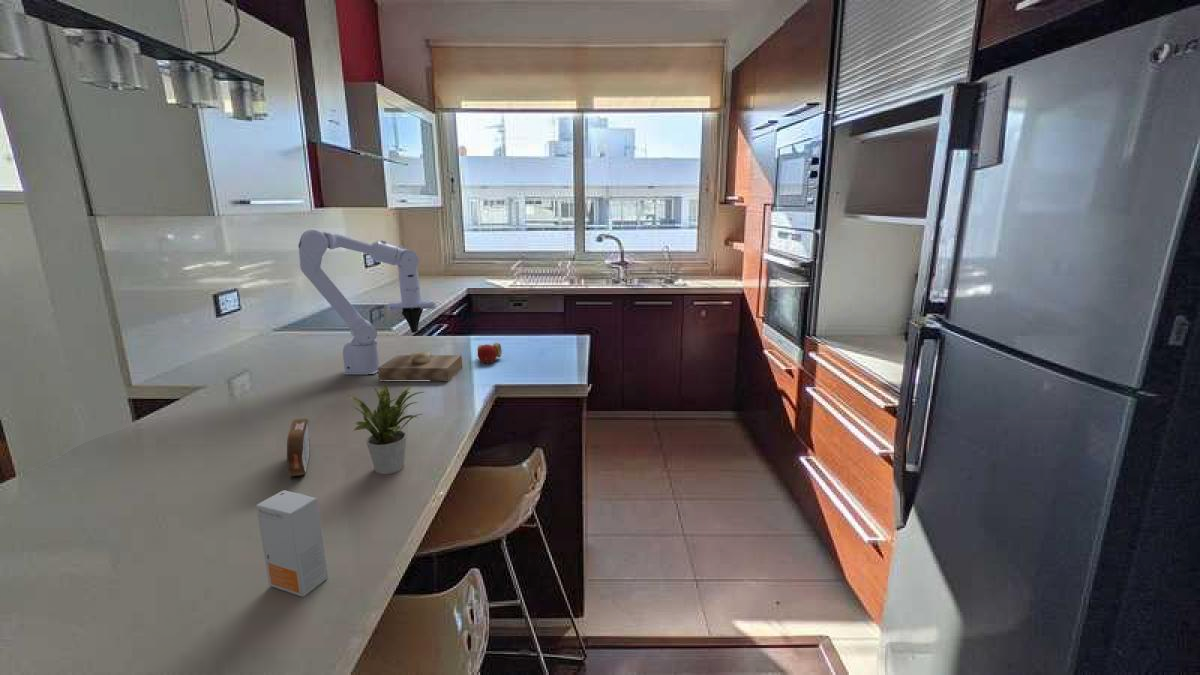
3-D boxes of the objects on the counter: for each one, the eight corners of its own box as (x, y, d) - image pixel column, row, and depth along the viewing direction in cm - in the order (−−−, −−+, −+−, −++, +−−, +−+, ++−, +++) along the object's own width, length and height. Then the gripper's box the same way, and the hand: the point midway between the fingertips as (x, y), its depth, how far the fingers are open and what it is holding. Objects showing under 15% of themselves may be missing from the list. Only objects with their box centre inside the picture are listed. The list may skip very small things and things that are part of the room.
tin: (297, 452, 111) (291, 413, 109) (314, 449, 112) (308, 410, 110) (288, 485, 97) (281, 441, 95) (308, 482, 98) (301, 438, 97)
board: (379, 381, 155) (377, 368, 155) (398, 367, 169) (397, 355, 168) (448, 381, 155) (447, 368, 154) (462, 367, 168) (461, 355, 167)
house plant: (447, 468, 103) (441, 386, 99) (375, 495, 93) (365, 405, 90) (412, 446, 113) (405, 370, 109) (343, 468, 103) (332, 386, 99)
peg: (410, 375, 159) (408, 355, 158) (417, 370, 164) (415, 351, 163) (427, 375, 159) (425, 355, 158) (434, 370, 164) (432, 351, 163)
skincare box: (268, 587, 71) (253, 504, 68) (296, 567, 75) (284, 488, 72) (302, 599, 69) (289, 513, 66) (330, 578, 73) (318, 496, 70)
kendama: (483, 354, 188) (471, 362, 170) (486, 337, 188) (474, 342, 170) (505, 358, 188) (495, 366, 170) (508, 340, 188) (498, 346, 170)
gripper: (381, 291, 163) (386, 335, 167) (430, 290, 164) (434, 334, 167) (389, 288, 170) (394, 330, 173) (436, 286, 170) (440, 329, 174)
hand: (414, 331), depth 171 cm, fingers closed
